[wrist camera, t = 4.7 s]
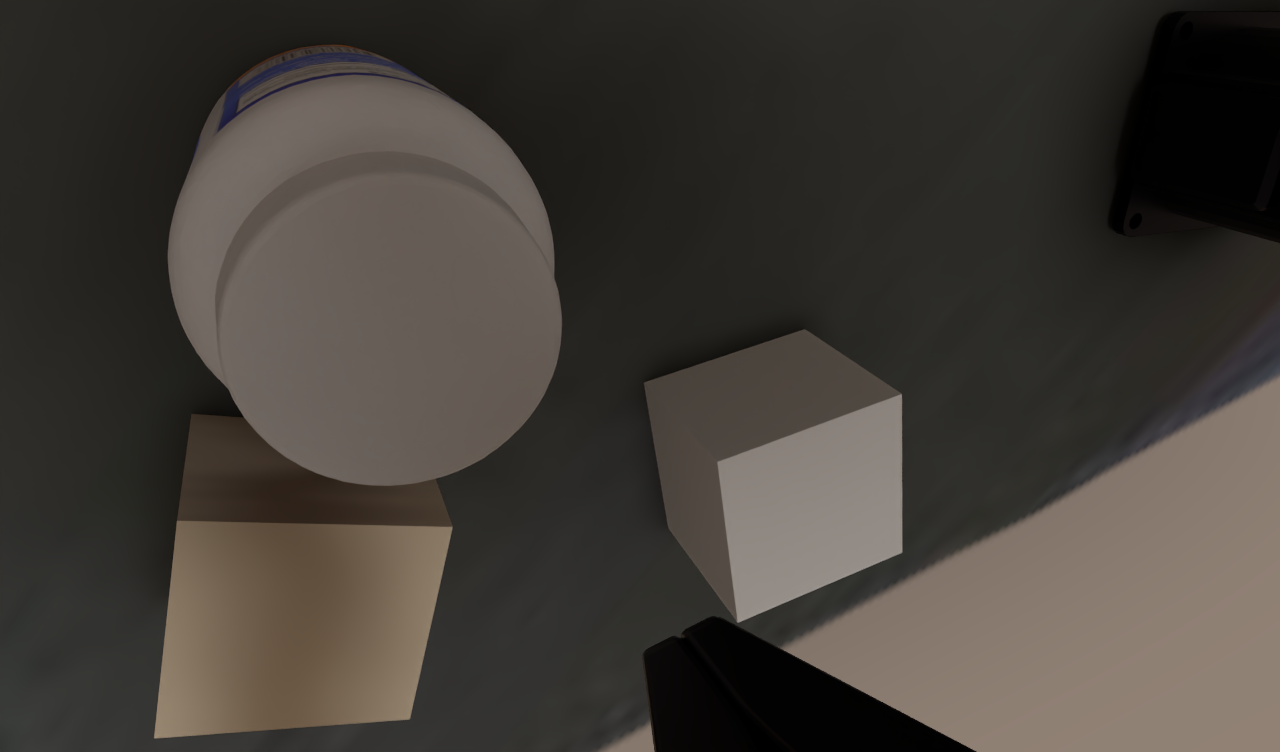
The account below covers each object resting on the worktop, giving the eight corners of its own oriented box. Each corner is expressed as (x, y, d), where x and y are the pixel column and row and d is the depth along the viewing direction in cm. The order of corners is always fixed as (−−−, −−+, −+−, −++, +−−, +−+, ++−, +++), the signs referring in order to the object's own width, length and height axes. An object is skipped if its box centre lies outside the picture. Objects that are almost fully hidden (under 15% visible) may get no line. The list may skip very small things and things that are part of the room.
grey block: (802, 327, 25) (901, 394, 21) (811, 470, 27) (902, 552, 23) (642, 381, 23) (717, 462, 20) (666, 526, 26) (737, 622, 22)
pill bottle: (389, 337, 20) (481, 593, 12) (145, 223, 17) (50, 456, 9) (511, 134, 19) (699, 263, 11) (275, -21, 17) (299, 1, 8)
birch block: (417, 427, 22) (452, 526, 18) (384, 595, 23) (409, 719, 19) (191, 411, 19) (177, 520, 16) (171, 598, 21) (154, 738, 17)
